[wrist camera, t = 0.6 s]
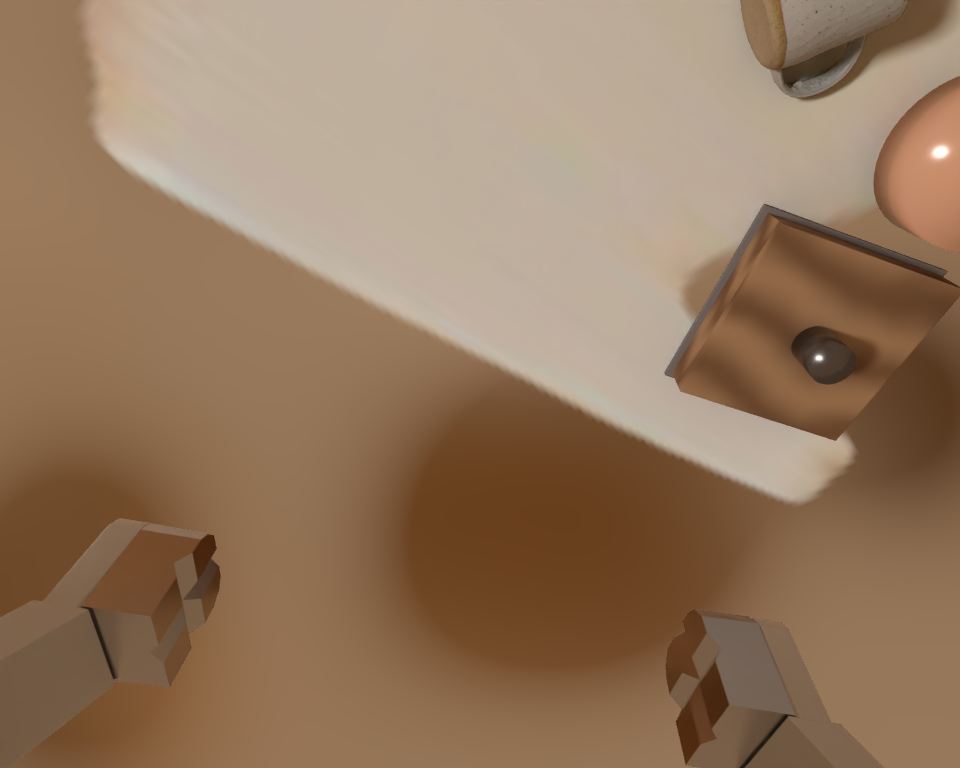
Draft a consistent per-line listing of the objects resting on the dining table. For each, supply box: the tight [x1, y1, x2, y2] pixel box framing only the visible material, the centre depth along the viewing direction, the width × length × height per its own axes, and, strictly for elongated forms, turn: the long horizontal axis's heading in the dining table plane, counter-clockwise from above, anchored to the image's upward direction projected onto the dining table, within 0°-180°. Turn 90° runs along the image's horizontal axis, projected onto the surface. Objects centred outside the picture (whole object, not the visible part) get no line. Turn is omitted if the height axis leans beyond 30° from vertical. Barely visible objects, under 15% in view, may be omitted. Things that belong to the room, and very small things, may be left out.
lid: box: [672, 213, 960, 441], centre depth 50 cm, size 17×17×8 cm
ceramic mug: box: [741, 0, 909, 98], centre depth 38 cm, size 11×8×8 cm
